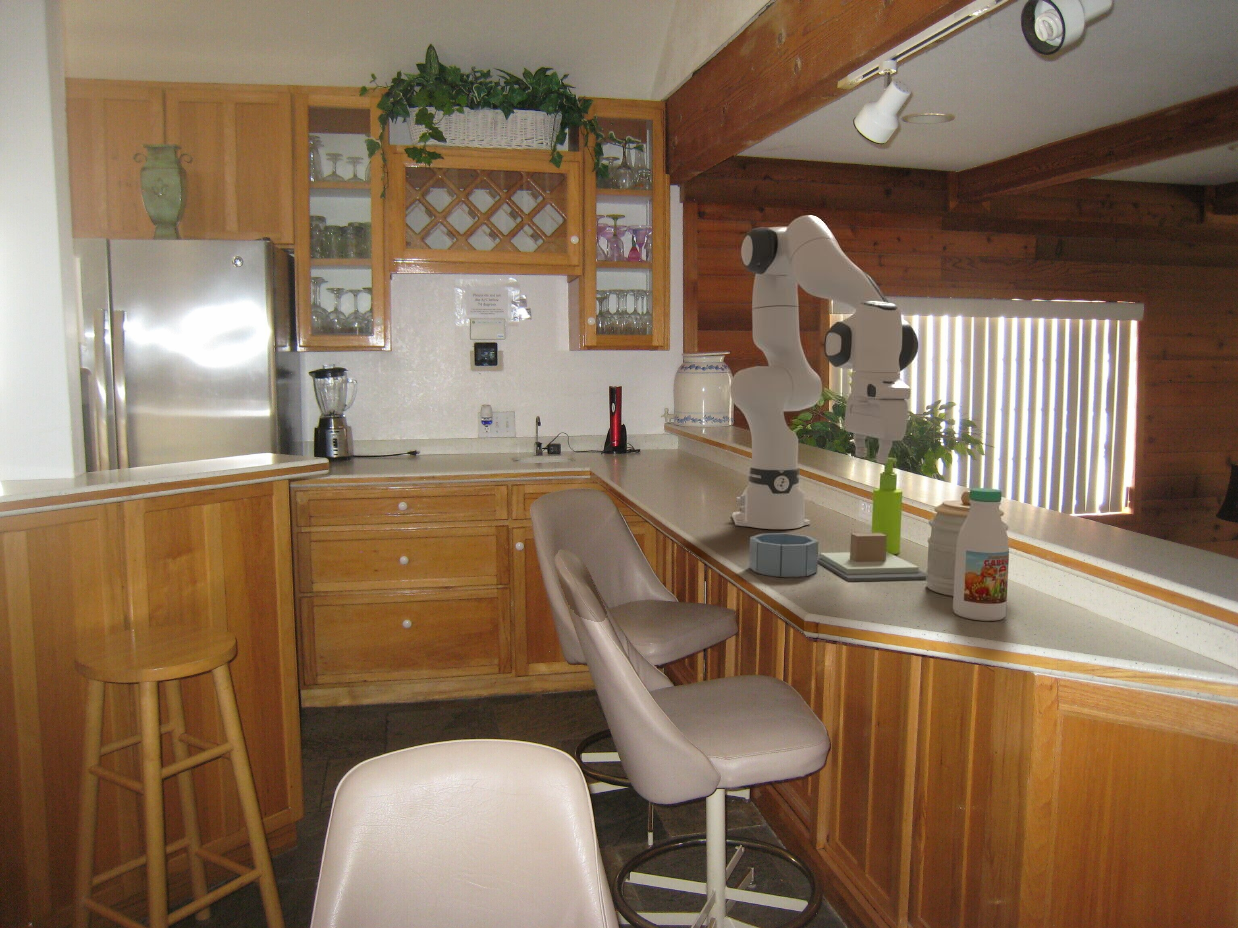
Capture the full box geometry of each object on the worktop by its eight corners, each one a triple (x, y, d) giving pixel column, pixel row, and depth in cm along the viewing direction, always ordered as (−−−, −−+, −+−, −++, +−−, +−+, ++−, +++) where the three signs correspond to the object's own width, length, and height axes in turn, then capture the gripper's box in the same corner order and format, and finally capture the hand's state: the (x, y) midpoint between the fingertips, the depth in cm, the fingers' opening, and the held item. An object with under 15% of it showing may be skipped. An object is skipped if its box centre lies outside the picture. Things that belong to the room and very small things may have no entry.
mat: (809, 557, 177) (809, 554, 177) (884, 556, 179) (884, 553, 179) (848, 581, 158) (848, 578, 157) (931, 579, 160) (931, 576, 160)
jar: (1021, 594, 150) (1027, 493, 148) (971, 603, 143) (976, 498, 141) (958, 578, 161) (963, 484, 159) (909, 586, 154) (913, 488, 153)
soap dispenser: (872, 546, 189) (876, 455, 187) (904, 551, 185) (908, 457, 182) (861, 550, 184) (865, 457, 182) (893, 555, 180) (897, 459, 178)
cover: (819, 557, 174) (820, 528, 174) (885, 556, 176) (887, 527, 176) (847, 574, 161) (848, 542, 160) (918, 572, 162) (920, 540, 162)
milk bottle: (944, 614, 137) (950, 489, 134) (965, 605, 142) (971, 484, 140) (993, 625, 131) (1000, 494, 129) (1013, 615, 136) (1021, 489, 134)
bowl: (744, 563, 171) (744, 533, 171) (802, 562, 173) (803, 532, 172) (761, 578, 159) (762, 546, 159) (824, 576, 161) (825, 544, 160)
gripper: (838, 385, 174) (834, 453, 176) (882, 389, 154) (877, 466, 156) (868, 385, 175) (864, 453, 177) (915, 390, 155) (910, 466, 157)
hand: (871, 459), depth 166 cm, fingers open, 8 cm apart
